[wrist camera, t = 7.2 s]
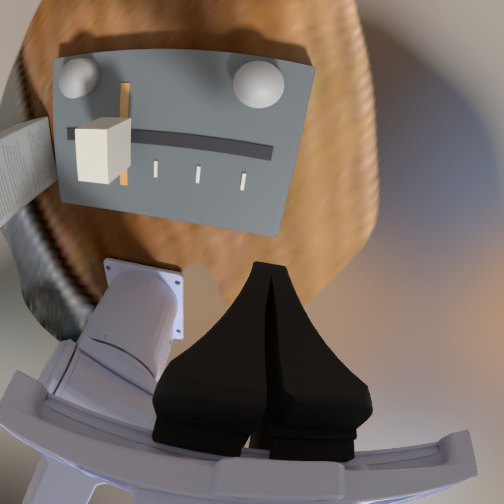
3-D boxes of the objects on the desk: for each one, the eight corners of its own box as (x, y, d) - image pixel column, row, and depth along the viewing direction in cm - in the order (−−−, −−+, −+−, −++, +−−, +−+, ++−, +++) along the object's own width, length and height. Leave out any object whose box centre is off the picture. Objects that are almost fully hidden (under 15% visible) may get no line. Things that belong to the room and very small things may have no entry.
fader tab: (138, 159, 18) (108, 184, 15) (110, 157, 18) (78, 180, 15) (139, 114, 17) (107, 129, 13) (110, 113, 16) (74, 128, 13)
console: (277, 226, 23) (276, 247, 20) (70, 194, 22) (53, 209, 20) (313, 67, 16) (318, 67, 13) (65, 57, 15) (43, 60, 13)
